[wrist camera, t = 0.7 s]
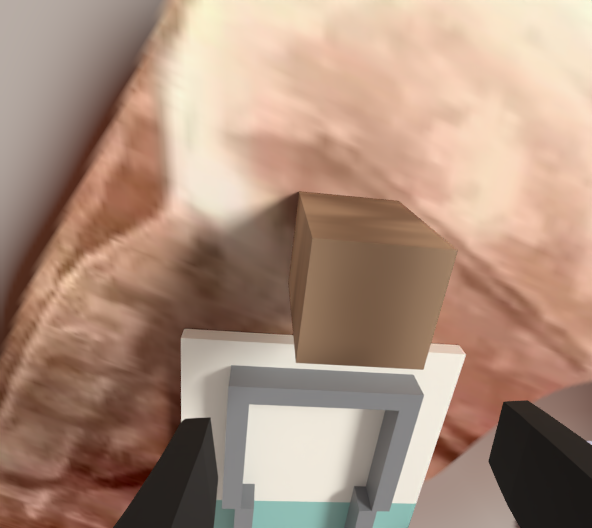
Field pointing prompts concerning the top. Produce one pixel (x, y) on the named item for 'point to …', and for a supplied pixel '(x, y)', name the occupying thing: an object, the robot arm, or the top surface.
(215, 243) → the top surface
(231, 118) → the top surface
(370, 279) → the walnut block
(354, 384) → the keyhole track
